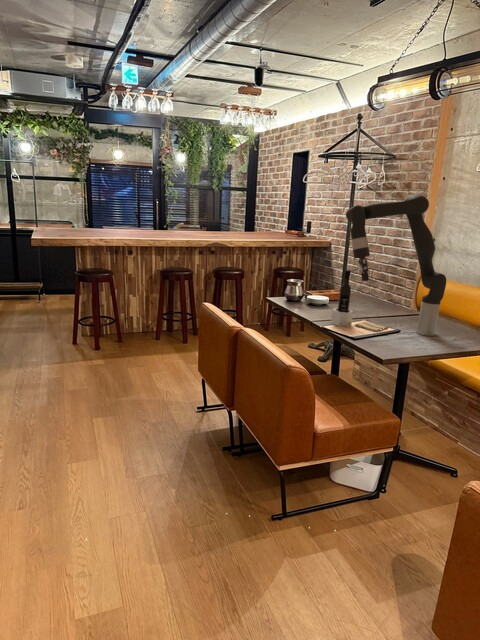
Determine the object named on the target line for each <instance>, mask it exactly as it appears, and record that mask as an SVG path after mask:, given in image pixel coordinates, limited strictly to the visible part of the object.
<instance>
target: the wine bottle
mask: <svg viewBox="0 0 480 640" xmlns="http://www.w3.org/2000/svg"><path fill="white" fill-rule="evenodd" d="M351 272H352V271H351V270H349V269H346V270H344V277H343V283H342V284H341V286H340V288H339V296H338V302H337V303H338V304H337V308H338V311H340V312H348V310H350V301H351V292H352V287H351V285H350V278H351Z"/></svg>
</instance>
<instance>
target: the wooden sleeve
mask: <svg viewBox="0 0 480 640" xmlns="http://www.w3.org/2000/svg"><path fill="white" fill-rule="evenodd" d="M353 314H354V311H353V310H352V309H349V310H348V312H340V311H338V307H334V308H332V315H331V324H332V326H336V327H340V326H349V327H351V326H352V323H353V322H352V321H353Z"/></svg>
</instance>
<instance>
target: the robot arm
mask: <svg viewBox="0 0 480 640" xmlns="http://www.w3.org/2000/svg"><path fill="white" fill-rule="evenodd" d="M429 206H430V202H429V200H428V198H427V197H426V196H424V195H420V194H409V195H407V197H405V199H404V200H401V201H388V202H387V201H386V202H384V201H383V202H377V203H370V204H367V205H363V206H362V205H359V204H356V205H353V206H352V207H349V209H347V211H346V213H345V217H346V218H345V219H346V220H347V221H349V222H351V227H350V237H351V247H352V254H353V258H354V259H358V261H357V264H358V269H359V273H360V275H361V281H362V282H368V281H369V280H370V279H369V266H368V259H367V257H370V256H371V254H370V248H369V241H368V239H367V232H366V220H371V219H372V220H373V219H379V218H385V217H391V216H392V217H393V216H399V215H401V216H402V215H405V216H406V218H407V221H408V224H409V227H410V230H411V231H410V232H411V236H412V239H413V244H414V248H415V249H414V250H415V252H416V256H417V260H418V265H419V270H420V279H421V283H422V286H423V287H424V288H426V289H428V290H429V291H428V294H426V295H423V296H422V298H421V303H420V309H419V310H420V311H419V314H418V322H417V326H416V333H417V334H418V335H422V336H427V337H428V336H429V337H433V336H435V335H436V329H437V323H438V318H439V314H440V313H439V312H440V307H441V302H442V300H443V299H444V295H445V291H446V288H447V277H446V275H445V274H443V273H441V272H437V271H435V269H434V266H433V259H434V255H435V253H436V252H435V251H436V246H435V240H434V236H433V234H432V231H431V230H430V229H429V227H428V225H427V224H426V221H425V220H424V217H423V214H425V213H426V212H427V210H428V209H429Z"/></svg>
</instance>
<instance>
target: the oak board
mask: <svg viewBox="0 0 480 640" xmlns="http://www.w3.org/2000/svg"><path fill="white" fill-rule="evenodd" d="M356 326H358V327H357V328H360V327H363V328H362V329H364V328H367V329H371V330H375V331H377V330H380V329H383V328H387V329H388V328H389V326H388V325H384V324H380V323H375V322H371V321H362V322H358V323H355V324H354V327H356ZM367 329H366V330H367ZM371 330H370V331H371ZM375 331H374V332H375ZM380 331H381V330H380ZM377 332H378V331H377Z"/></svg>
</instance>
